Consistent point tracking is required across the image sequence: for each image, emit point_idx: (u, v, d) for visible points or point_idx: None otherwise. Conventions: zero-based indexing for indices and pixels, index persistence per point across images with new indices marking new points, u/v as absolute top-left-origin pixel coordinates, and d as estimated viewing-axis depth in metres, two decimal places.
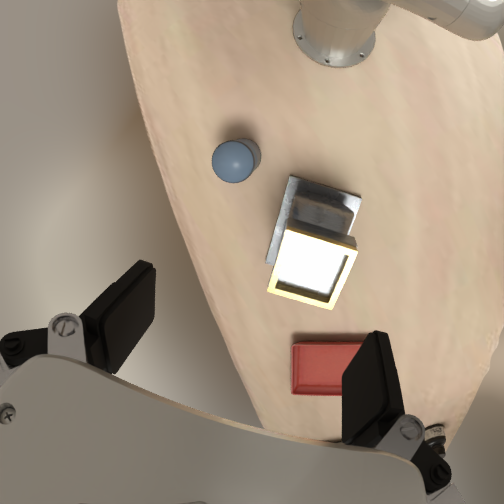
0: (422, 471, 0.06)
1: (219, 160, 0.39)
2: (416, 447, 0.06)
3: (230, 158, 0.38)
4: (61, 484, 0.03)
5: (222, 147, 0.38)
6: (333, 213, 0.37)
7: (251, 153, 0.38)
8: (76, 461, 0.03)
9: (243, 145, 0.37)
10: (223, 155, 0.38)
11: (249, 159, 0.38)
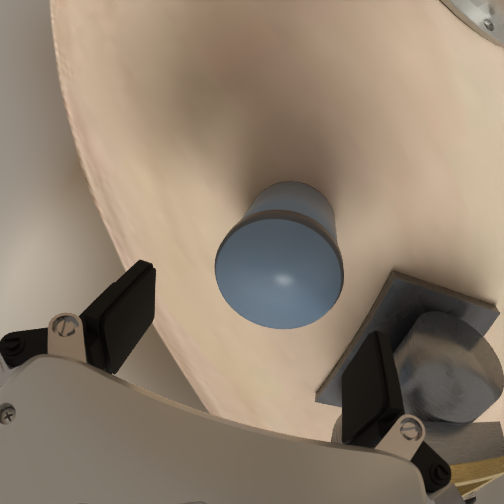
0: (422, 471, 0.06)
1: (239, 271, 0.13)
2: (416, 447, 0.06)
3: (272, 270, 0.13)
4: (61, 484, 0.03)
5: (247, 236, 0.12)
6: (485, 391, 0.11)
7: (339, 260, 0.12)
8: (76, 461, 0.03)
9: (317, 235, 0.12)
10: (250, 260, 0.13)
11: (331, 278, 0.12)
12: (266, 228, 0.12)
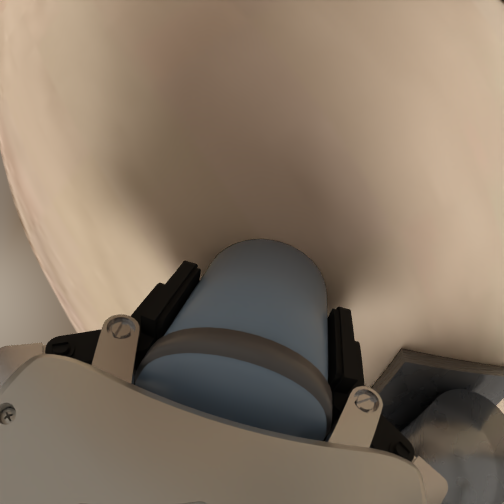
0: None
1: None
2: (377, 417, 0.07)
3: None
4: (61, 484, 0.03)
5: (169, 375, 0.07)
6: (497, 490, 0.06)
7: (324, 409, 0.07)
8: (76, 461, 0.03)
9: (287, 385, 0.06)
10: (181, 401, 0.07)
11: (311, 431, 0.07)
12: (196, 370, 0.06)
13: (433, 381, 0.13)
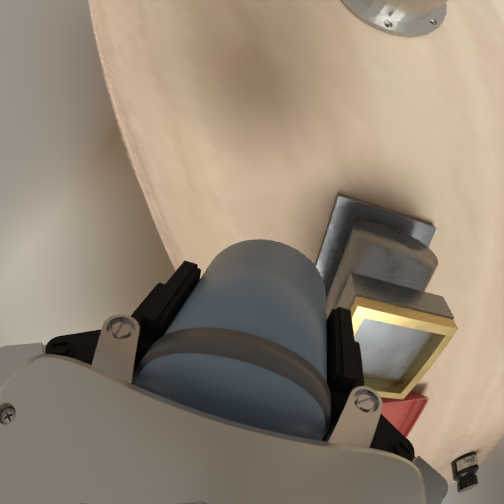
0: None
1: None
2: (377, 417, 0.07)
3: None
4: (61, 484, 0.03)
5: (168, 374, 0.07)
6: (416, 262, 0.21)
7: (323, 409, 0.07)
8: (76, 461, 0.03)
9: (285, 385, 0.06)
10: (180, 400, 0.07)
11: (309, 431, 0.07)
12: (195, 370, 0.06)
13: (361, 213, 0.28)
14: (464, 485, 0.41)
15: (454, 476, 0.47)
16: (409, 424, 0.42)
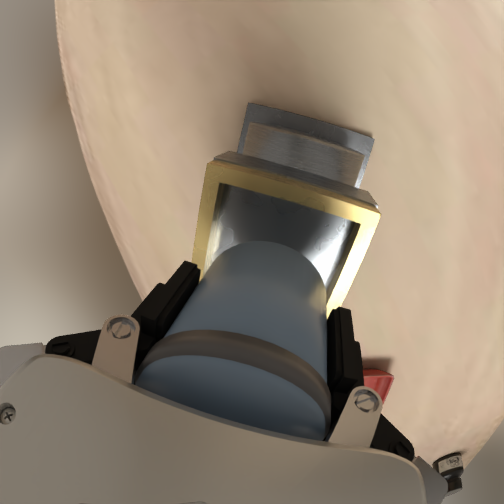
0: None
1: None
2: (377, 417, 0.07)
3: None
4: (61, 484, 0.03)
5: (168, 376, 0.07)
6: (322, 143, 0.17)
7: (323, 411, 0.07)
8: (76, 461, 0.03)
9: (286, 387, 0.06)
10: (180, 402, 0.07)
11: (309, 432, 0.07)
12: (196, 372, 0.06)
13: (276, 120, 0.24)
14: None
15: None
16: None
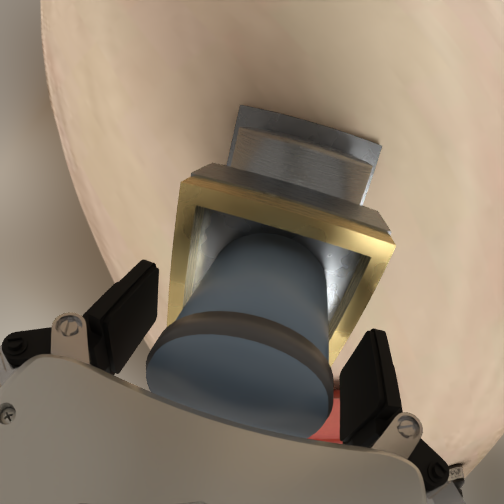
0: (419, 470, 0.06)
1: (178, 391, 0.08)
2: (414, 445, 0.06)
3: (224, 397, 0.08)
4: (61, 484, 0.03)
5: (181, 356, 0.07)
6: (323, 153, 0.15)
7: (326, 389, 0.07)
8: (76, 461, 0.03)
9: (292, 363, 0.07)
10: (191, 382, 0.08)
11: (313, 411, 0.07)
12: (207, 350, 0.07)
13: (271, 125, 0.22)
14: None
15: None
16: None
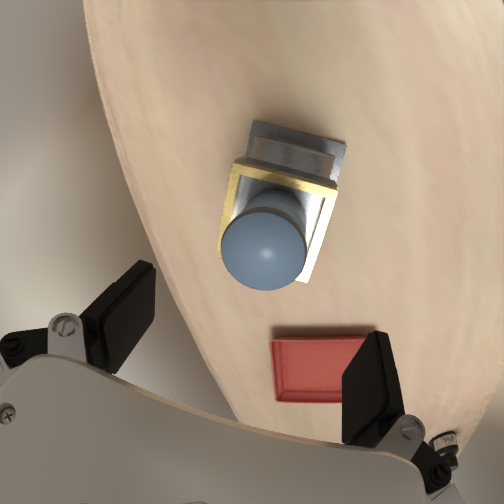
0: (422, 471, 0.06)
1: (237, 248, 0.20)
2: (416, 447, 0.06)
3: (259, 247, 0.20)
4: (61, 484, 0.03)
5: (242, 224, 0.19)
6: (303, 150, 0.27)
7: (302, 238, 0.19)
8: (76, 461, 0.03)
9: (286, 222, 0.19)
10: (244, 240, 0.20)
11: (298, 251, 0.19)
12: (254, 218, 0.19)
13: (274, 134, 0.34)
14: None
15: None
16: None
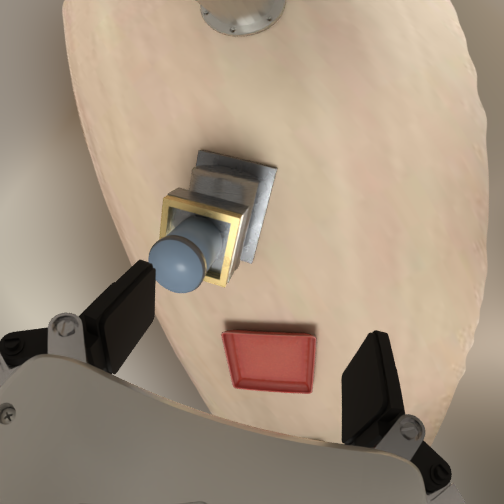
0: (422, 471, 0.06)
1: (158, 263, 0.28)
2: (416, 447, 0.06)
3: (171, 263, 0.27)
4: (61, 484, 0.03)
5: (159, 247, 0.27)
6: (225, 181, 0.34)
7: (198, 258, 0.27)
8: (76, 461, 0.03)
9: (186, 247, 0.26)
10: (161, 258, 0.27)
11: (196, 266, 0.27)
12: (165, 243, 0.27)
13: (215, 161, 0.41)
14: None
15: None
16: (311, 371, 0.55)
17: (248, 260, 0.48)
